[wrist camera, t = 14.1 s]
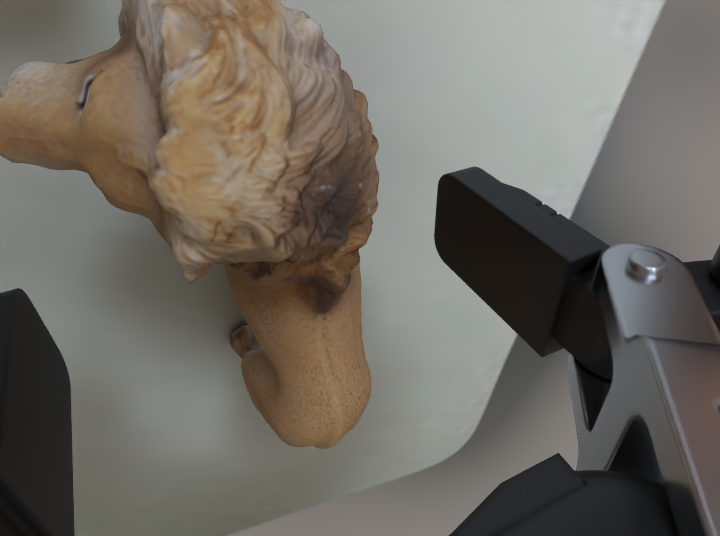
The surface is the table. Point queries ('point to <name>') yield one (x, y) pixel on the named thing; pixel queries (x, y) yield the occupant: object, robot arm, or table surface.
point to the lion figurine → (231, 180)
